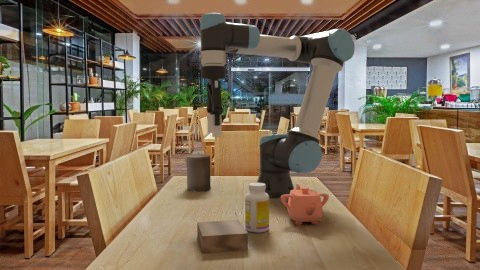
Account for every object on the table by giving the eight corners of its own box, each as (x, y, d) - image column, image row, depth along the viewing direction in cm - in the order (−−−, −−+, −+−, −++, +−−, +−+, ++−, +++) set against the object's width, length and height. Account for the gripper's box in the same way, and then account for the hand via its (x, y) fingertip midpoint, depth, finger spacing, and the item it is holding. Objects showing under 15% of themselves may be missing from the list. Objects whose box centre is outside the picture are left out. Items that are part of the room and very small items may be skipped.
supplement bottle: (272, 227, 112) (273, 183, 111) (263, 234, 106) (264, 187, 105) (250, 224, 115) (251, 180, 114) (241, 231, 109) (241, 185, 108)
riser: (238, 234, 106) (238, 219, 106) (248, 249, 96) (248, 233, 95) (197, 237, 104) (197, 222, 104) (202, 252, 93) (202, 236, 93)
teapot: (335, 221, 118) (336, 188, 117) (313, 231, 109) (314, 195, 109) (296, 212, 128) (297, 181, 127) (273, 220, 119) (273, 187, 118)
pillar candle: (215, 188, 163) (215, 151, 162) (200, 192, 155) (200, 154, 154) (196, 185, 168) (196, 150, 167) (181, 189, 160) (181, 152, 159)
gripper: (198, 68, 133) (199, 131, 135) (204, 62, 109) (206, 138, 111) (220, 69, 134) (220, 131, 136) (231, 62, 110) (232, 138, 112)
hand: (214, 134), depth 123 cm, fingers open, 13 cm apart
